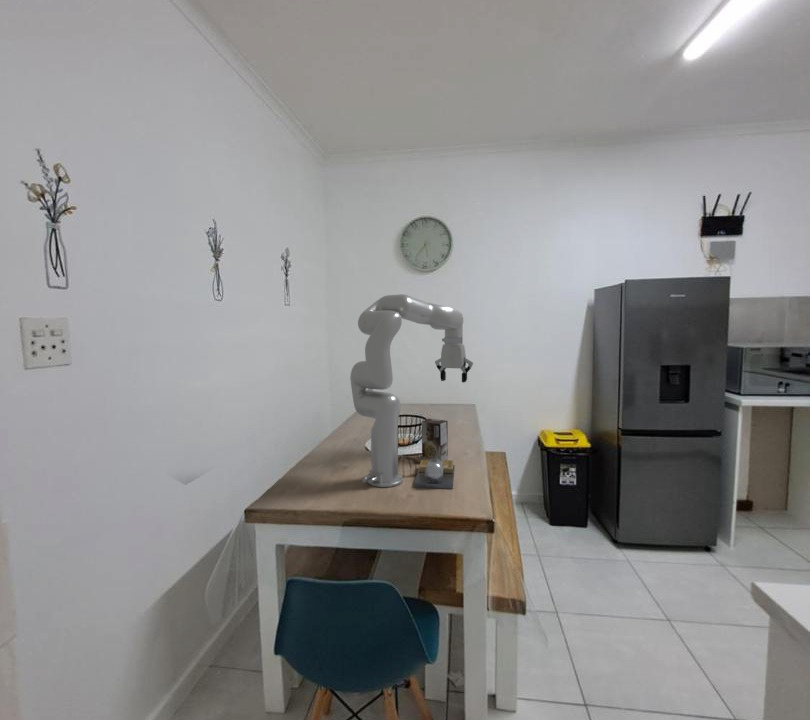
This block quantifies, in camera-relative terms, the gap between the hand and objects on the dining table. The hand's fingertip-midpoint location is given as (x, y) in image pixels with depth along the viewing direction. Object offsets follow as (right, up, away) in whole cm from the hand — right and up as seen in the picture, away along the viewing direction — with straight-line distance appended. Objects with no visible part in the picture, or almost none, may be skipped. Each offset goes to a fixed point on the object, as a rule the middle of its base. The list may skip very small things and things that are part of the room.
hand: (453, 381), depth 181 cm
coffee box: (-9, -32, -8) cm, 34 cm away
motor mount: (-10, -33, -28) cm, 44 cm away
